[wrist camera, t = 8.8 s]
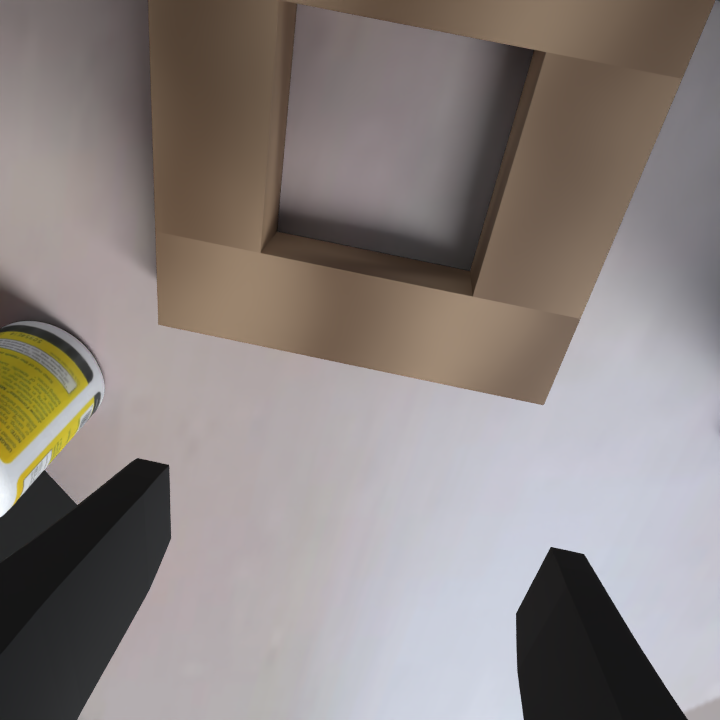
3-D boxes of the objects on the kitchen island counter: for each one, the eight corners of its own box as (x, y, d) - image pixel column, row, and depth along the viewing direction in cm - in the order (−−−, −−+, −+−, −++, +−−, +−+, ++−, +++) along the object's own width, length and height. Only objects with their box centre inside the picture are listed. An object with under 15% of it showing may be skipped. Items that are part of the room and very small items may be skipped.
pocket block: (715, -81, 13) (755, -96, 12) (535, 372, 20) (543, 405, 18) (178, -182, 14) (141, -211, 12) (181, 299, 20) (158, 324, 19)
